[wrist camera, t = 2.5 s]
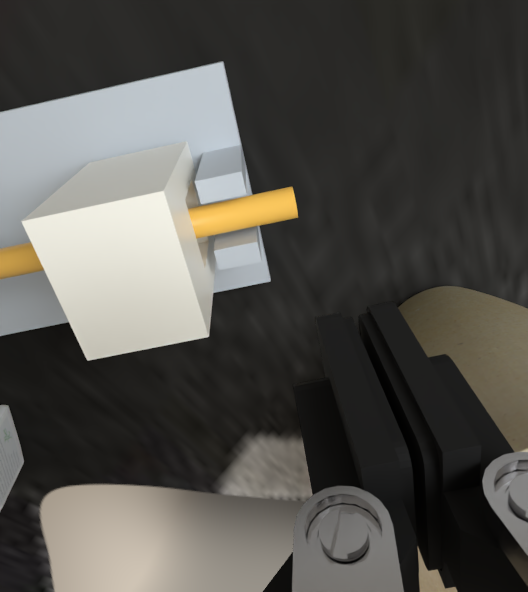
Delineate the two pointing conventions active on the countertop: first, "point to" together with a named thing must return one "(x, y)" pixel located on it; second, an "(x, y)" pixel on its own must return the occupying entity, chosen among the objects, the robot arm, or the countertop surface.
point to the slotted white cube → (128, 252)
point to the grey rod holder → (120, 141)
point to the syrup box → (8, 454)
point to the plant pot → (477, 361)
